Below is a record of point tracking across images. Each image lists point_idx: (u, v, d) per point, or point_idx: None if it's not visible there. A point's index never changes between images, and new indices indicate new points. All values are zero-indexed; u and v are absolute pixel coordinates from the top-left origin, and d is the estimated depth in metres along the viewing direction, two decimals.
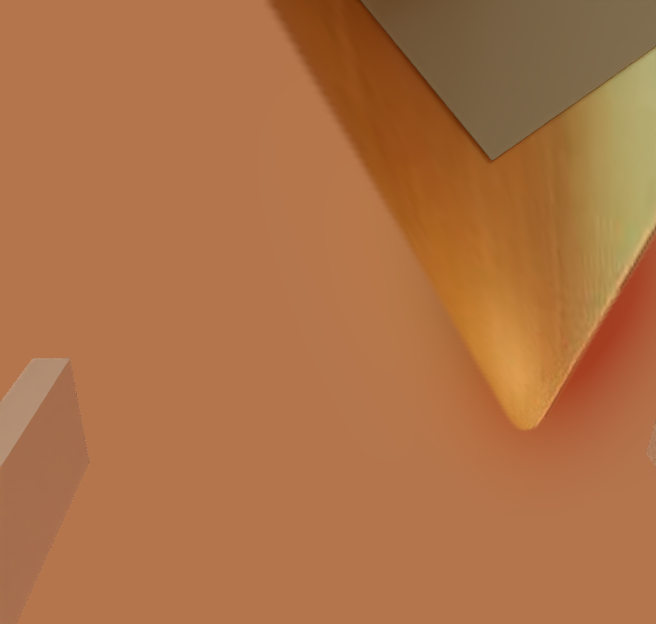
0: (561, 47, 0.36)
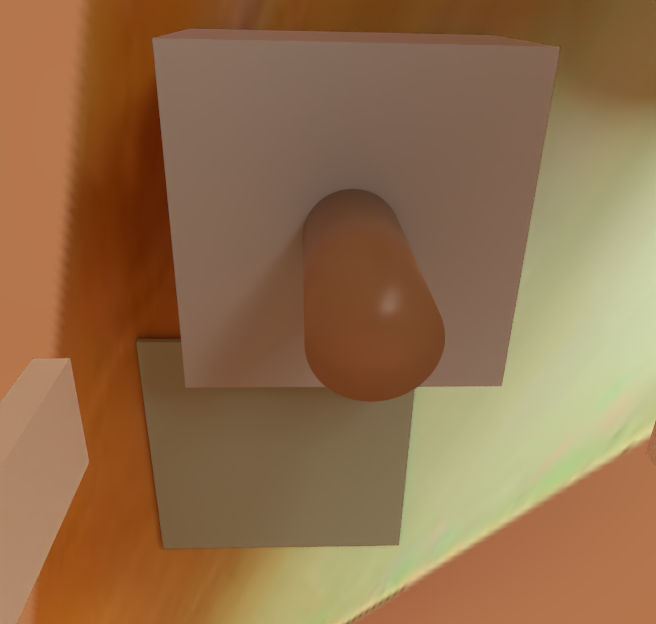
0: (271, 503, 0.38)
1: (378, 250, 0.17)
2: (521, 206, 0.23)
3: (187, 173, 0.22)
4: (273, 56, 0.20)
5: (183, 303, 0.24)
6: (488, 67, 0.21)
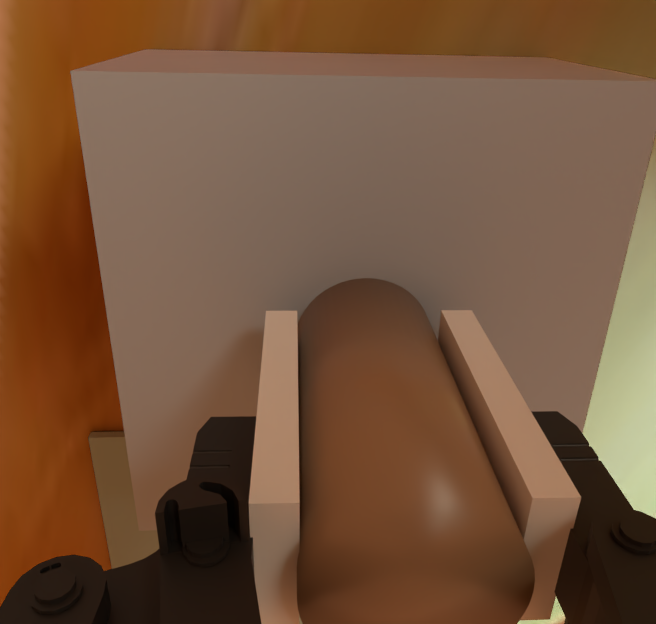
0: None
1: (417, 421, 0.10)
2: (599, 299, 0.16)
3: (131, 259, 0.15)
4: (250, 96, 0.14)
5: (131, 428, 0.17)
6: (563, 111, 0.14)
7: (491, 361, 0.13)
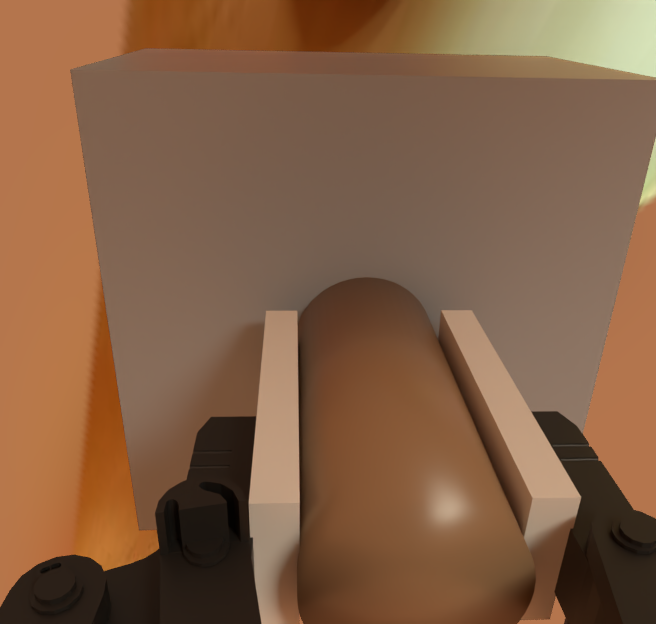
0: None
1: (417, 420, 0.10)
2: (600, 298, 0.16)
3: (131, 258, 0.15)
4: (251, 95, 0.14)
5: (131, 427, 0.17)
6: (564, 110, 0.14)
7: (491, 361, 0.13)
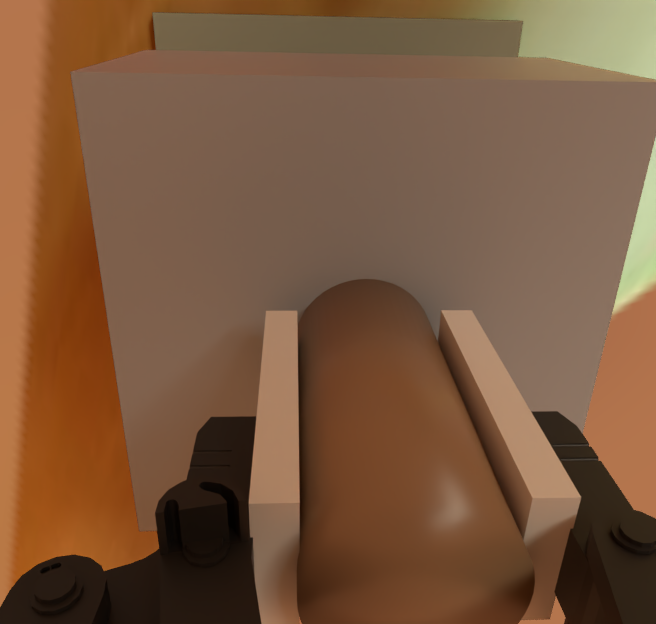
0: None
1: (417, 422, 0.10)
2: (599, 299, 0.16)
3: (131, 260, 0.15)
4: (251, 97, 0.14)
5: (132, 428, 0.17)
6: (563, 112, 0.14)
7: (491, 361, 0.13)
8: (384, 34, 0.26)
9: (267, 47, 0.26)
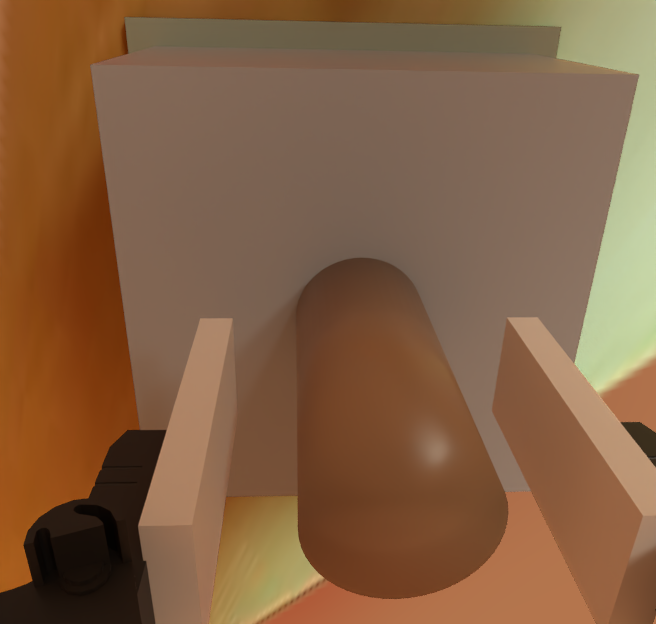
0: None
1: (404, 376, 0.12)
2: (579, 277, 0.18)
3: (144, 239, 0.17)
4: (255, 88, 0.15)
5: (143, 399, 0.19)
6: (542, 102, 0.15)
7: (569, 370, 0.13)
8: (398, 43, 0.22)
9: None
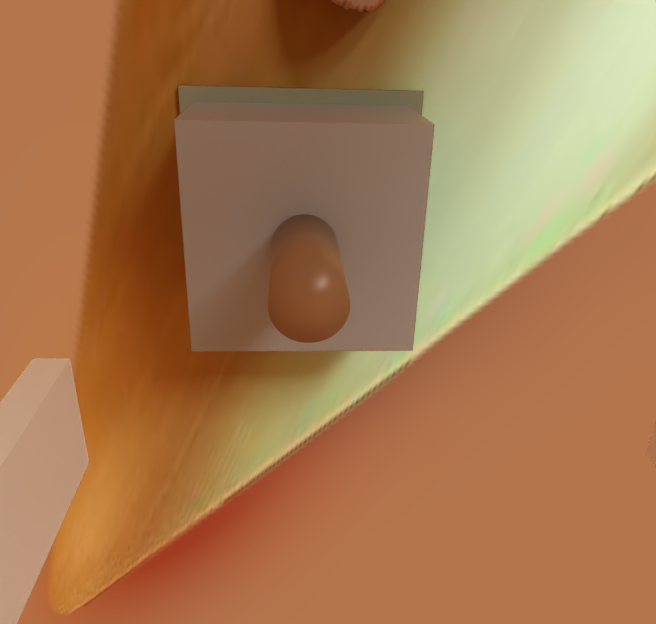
0: None
1: (312, 252, 0.28)
2: (417, 225, 0.34)
3: (195, 204, 0.33)
4: (251, 130, 0.32)
5: (191, 291, 0.35)
6: (389, 137, 0.32)
7: None
8: (331, 100, 0.39)
9: None
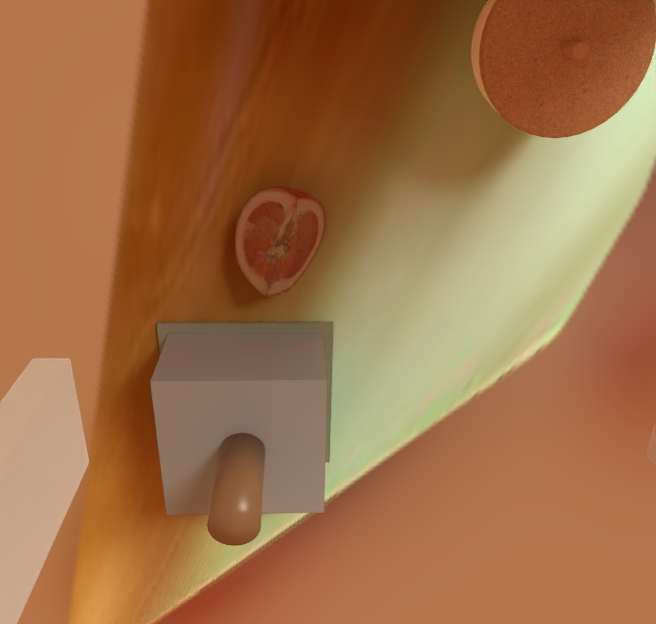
0: None
1: (238, 486, 0.44)
2: (320, 437, 0.50)
3: (166, 428, 0.48)
4: (202, 386, 0.47)
5: (164, 479, 0.51)
6: (296, 387, 0.47)
7: None
8: (267, 330, 0.54)
9: None
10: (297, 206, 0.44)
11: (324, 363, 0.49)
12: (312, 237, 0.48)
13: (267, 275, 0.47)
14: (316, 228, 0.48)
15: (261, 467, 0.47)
